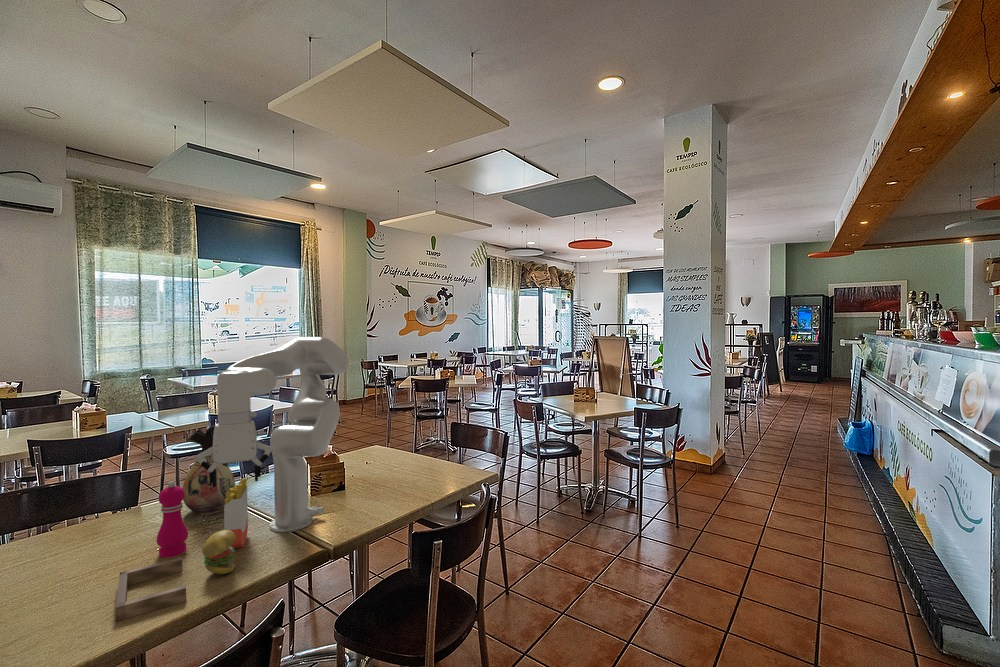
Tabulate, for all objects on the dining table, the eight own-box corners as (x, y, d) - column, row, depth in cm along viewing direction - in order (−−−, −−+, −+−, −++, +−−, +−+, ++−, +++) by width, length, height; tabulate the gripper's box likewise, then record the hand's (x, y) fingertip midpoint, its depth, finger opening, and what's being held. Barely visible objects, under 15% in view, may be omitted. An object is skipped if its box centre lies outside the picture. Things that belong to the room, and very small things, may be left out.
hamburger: (240, 573, 120) (239, 526, 120) (208, 585, 115) (207, 536, 114) (229, 563, 125) (228, 518, 125) (198, 574, 120) (197, 527, 120)
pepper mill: (172, 560, 127) (170, 486, 127) (150, 557, 129) (148, 484, 128) (194, 547, 134) (193, 477, 134) (173, 545, 136) (172, 476, 135)
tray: (181, 568, 123) (181, 557, 123) (186, 600, 108) (186, 587, 108) (120, 584, 115) (119, 572, 115) (116, 621, 101) (115, 607, 101)
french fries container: (222, 554, 130) (221, 489, 130) (231, 537, 141) (230, 477, 140) (241, 551, 132) (240, 487, 132) (248, 535, 142) (247, 475, 142)
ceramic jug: (176, 524, 150) (174, 430, 149) (188, 507, 164) (187, 421, 164) (237, 516, 156) (235, 426, 156) (244, 500, 170) (242, 417, 170)
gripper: (270, 412, 131) (272, 473, 132) (197, 418, 124) (198, 483, 124) (271, 417, 125) (272, 481, 125) (193, 424, 117) (195, 492, 117)
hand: (235, 482), depth 125 cm, fingers open, 9 cm apart
